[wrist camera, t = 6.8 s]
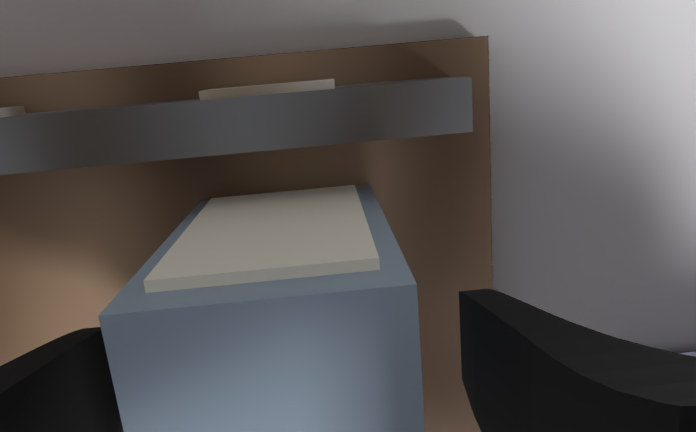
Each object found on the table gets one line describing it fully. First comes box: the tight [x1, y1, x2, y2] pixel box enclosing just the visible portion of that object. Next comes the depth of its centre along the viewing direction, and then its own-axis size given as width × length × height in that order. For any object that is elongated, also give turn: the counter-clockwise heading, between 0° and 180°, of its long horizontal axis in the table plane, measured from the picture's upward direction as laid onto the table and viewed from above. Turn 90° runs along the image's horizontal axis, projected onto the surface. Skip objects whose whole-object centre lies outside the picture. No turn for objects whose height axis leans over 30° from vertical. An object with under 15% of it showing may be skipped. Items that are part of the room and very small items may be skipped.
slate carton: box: [98, 185, 425, 432], centre depth 12 cm, size 5×4×7 cm
